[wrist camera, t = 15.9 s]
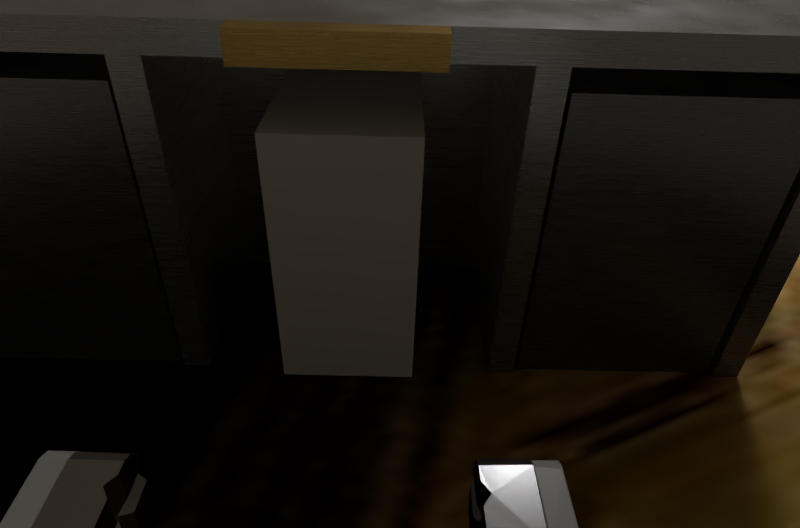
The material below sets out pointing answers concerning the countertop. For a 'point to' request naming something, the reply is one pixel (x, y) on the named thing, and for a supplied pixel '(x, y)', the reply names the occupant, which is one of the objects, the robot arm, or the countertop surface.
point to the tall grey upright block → (344, 218)
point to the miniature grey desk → (442, 173)
